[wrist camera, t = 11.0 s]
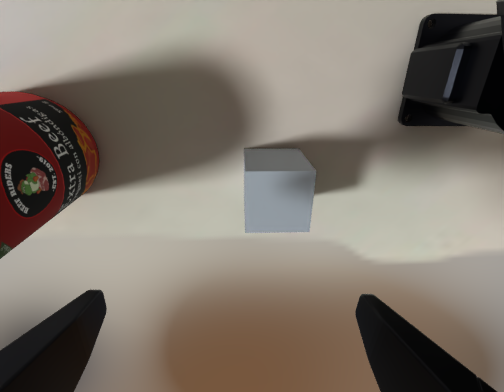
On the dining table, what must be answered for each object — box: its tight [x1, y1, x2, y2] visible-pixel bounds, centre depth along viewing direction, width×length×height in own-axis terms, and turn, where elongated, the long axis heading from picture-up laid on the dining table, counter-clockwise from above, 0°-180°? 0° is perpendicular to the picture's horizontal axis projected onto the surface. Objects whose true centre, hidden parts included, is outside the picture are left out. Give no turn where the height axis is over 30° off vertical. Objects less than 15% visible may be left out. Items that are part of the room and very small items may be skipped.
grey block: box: [244, 148, 316, 233], centre depth 18 cm, size 4×4×5 cm
